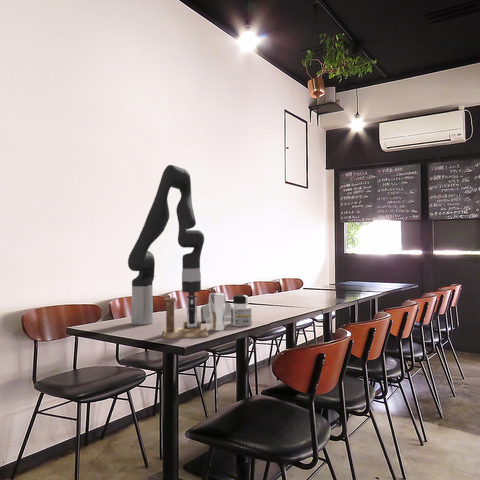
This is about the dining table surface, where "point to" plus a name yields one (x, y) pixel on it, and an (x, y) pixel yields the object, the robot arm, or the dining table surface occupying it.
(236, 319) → the container
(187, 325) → the brushed grey block
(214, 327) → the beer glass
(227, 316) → the card swipe reader
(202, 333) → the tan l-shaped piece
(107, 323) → the dining table surface
